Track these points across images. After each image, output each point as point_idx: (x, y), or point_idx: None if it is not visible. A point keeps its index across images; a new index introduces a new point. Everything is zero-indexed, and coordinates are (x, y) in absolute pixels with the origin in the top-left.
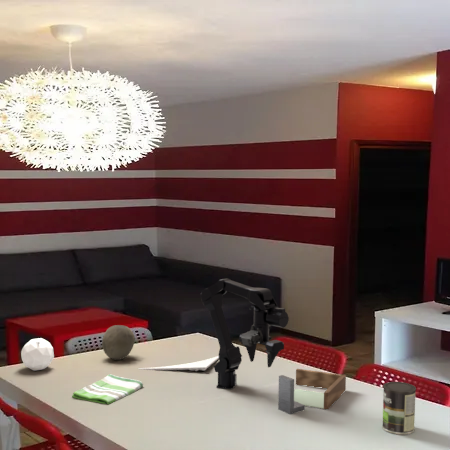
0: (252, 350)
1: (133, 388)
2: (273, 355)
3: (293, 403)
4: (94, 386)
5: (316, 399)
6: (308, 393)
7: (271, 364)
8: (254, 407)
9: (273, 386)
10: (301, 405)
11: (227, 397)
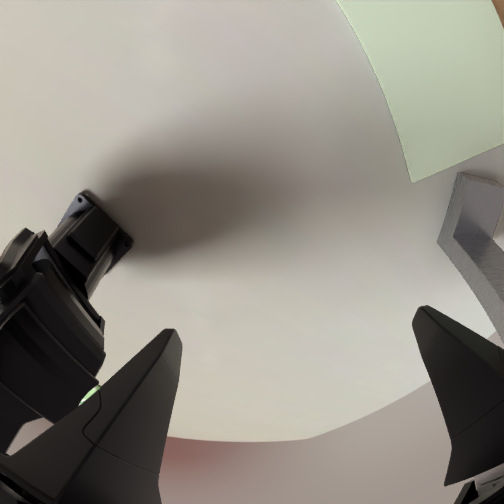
0: (143, 438)
1: (93, 388)
2: (498, 390)
3: (499, 249)
4: (81, 402)
5: (484, 62)
6: (420, 5)
7: (444, 319)
8: (364, 290)
9: (193, 33)
10: (502, 200)
11: (215, 302)
